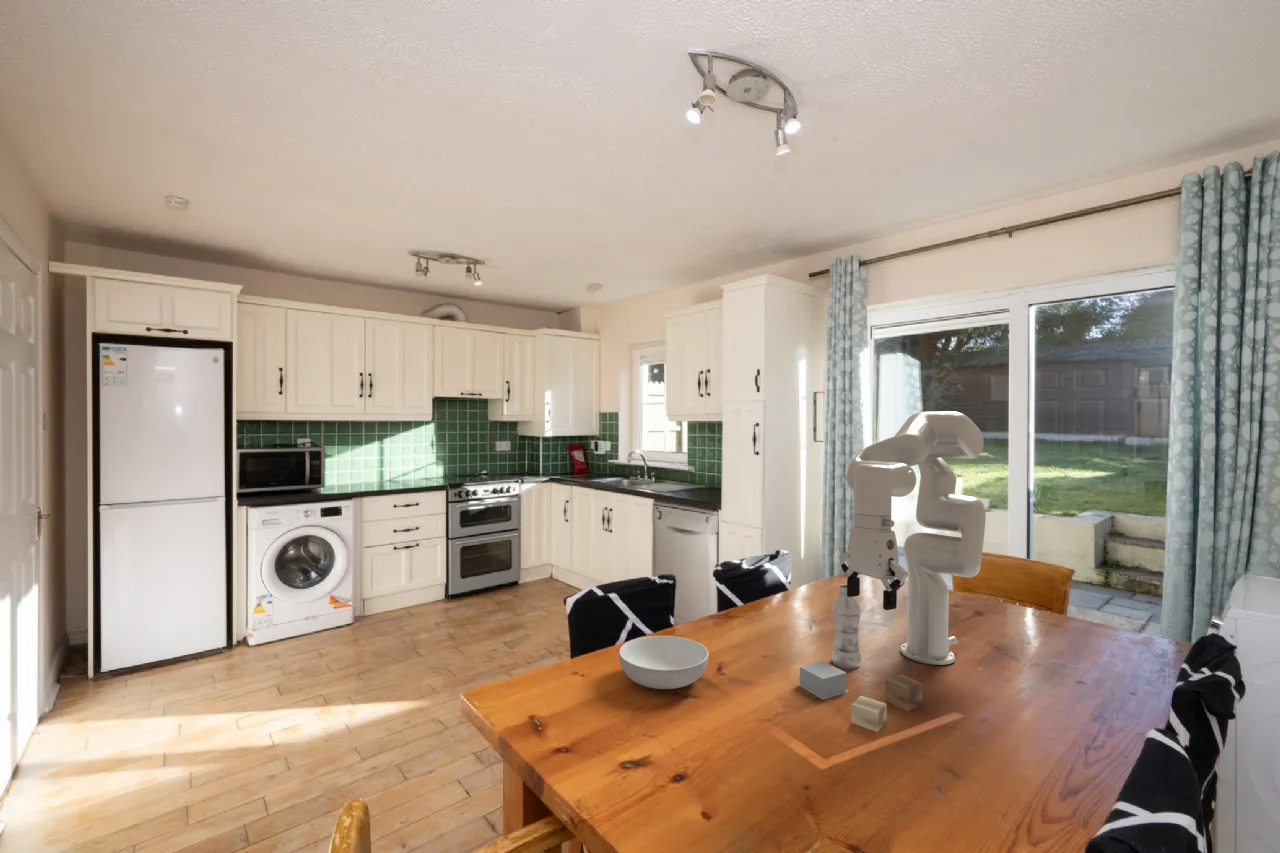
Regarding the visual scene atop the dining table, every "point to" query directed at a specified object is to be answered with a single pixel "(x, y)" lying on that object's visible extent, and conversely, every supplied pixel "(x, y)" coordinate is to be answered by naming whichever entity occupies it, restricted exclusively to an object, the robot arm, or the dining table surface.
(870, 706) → the birch block
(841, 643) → the plastic bottle
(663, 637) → the serving bowl
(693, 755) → the dining table surface
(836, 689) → the base block
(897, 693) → the walnut block
